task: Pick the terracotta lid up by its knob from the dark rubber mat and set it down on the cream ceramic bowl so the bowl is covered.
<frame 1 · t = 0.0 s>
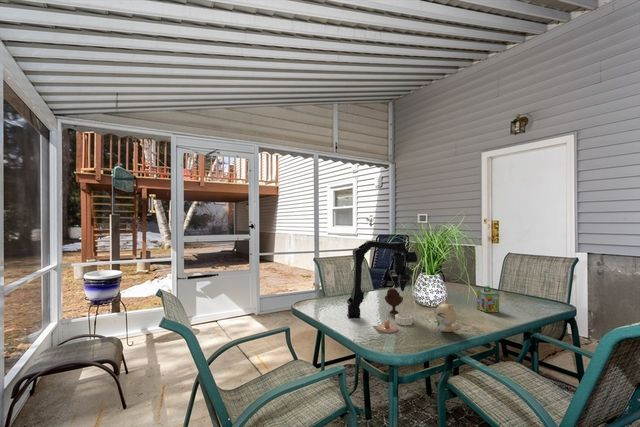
hand: (399, 289, 186), 15 cm above the table, fingers open, 9 cm apart
kitten: (445, 331, 158), on the table
bowl: (403, 323, 170), on the table
lid: (387, 329, 159), point 1 cm above the table, touching mat
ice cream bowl: (393, 313, 189), on the table
mat: (387, 330, 159), on the table
chalk box: (487, 311, 193), on the table
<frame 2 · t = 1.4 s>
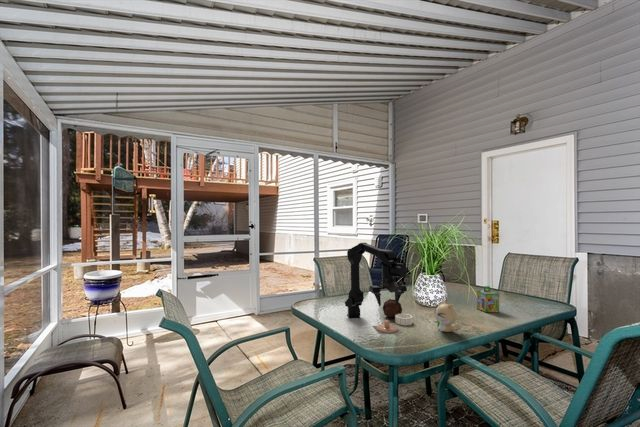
hand: (388, 305, 161), 12 cm above the table, fingers open, 9 cm apart
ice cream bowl: (393, 306, 187), point 4 cm above the table
everything else where it was.
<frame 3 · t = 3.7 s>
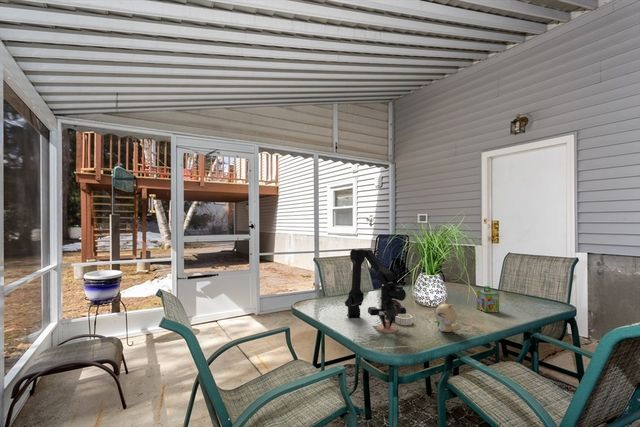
hand: (387, 327, 159), 2 cm above the table, fingers closed on lid, 3 cm apart
lid: (387, 329, 159), point 1 cm above the table, touching gripper, mat
everything else where it was.
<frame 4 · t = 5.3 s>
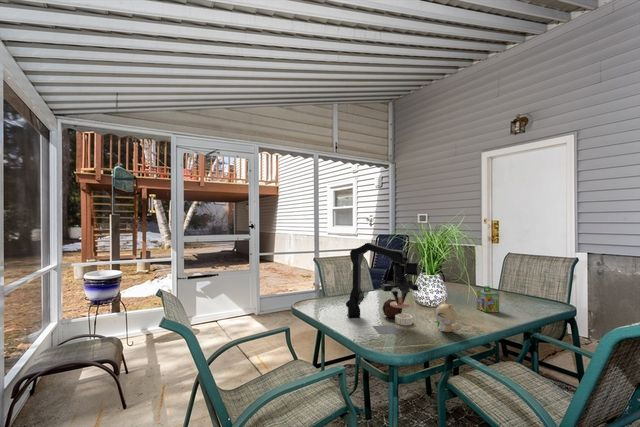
hand: (399, 303, 167), 12 cm above the table, fingers closed on lid, 3 cm apart
lid: (399, 305, 167), point 11 cm above the table, touching gripper
everything else where it was.
when the fingers open (6 cm above the table, at t = 7.0 s): lid stays where it is, resting on bowl.
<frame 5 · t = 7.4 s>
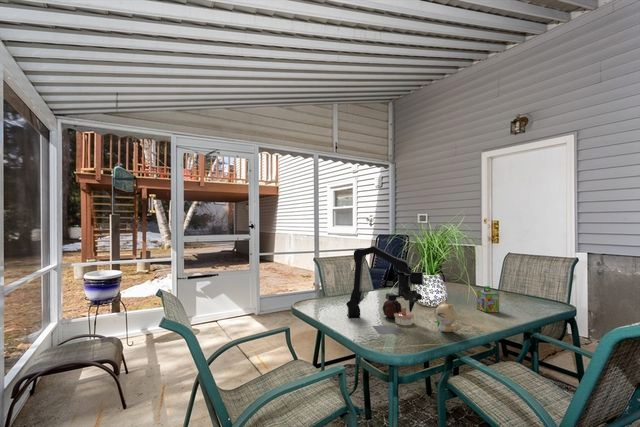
hand: (403, 312, 170), 6 cm above the table, fingers open, 7 cm apart
lid: (403, 316, 170), point 4 cm above the table, touching bowl
everything else where it was.
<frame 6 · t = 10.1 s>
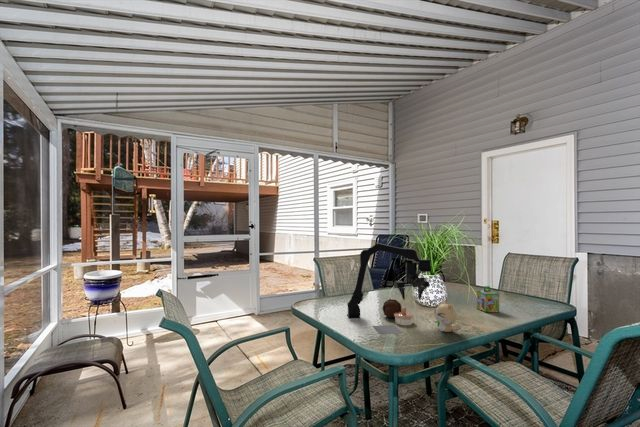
hand: (411, 299, 174), 12 cm above the table, fingers open, 9 cm apart
nothing on the table moved.
at the end: lid 0.1 cm off-centre on the bowl, point 4.0 cm above the bowl's base; lid tilted 0°; the gripper is holding nothing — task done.
